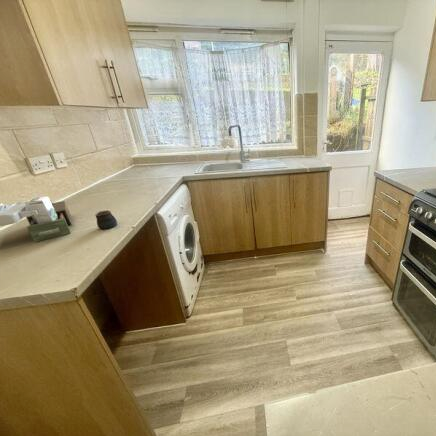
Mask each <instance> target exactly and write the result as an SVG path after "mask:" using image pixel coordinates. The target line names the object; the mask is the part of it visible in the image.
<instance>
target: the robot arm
mask: <svg viewBox="0 0 436 436" xmlns="http://www.w3.org/2000/svg"><path fill="white" fill-rule="evenodd" d="M29 200H30V199H28V200H27V199H26V200H23V201H15V202H11V203H10V204H8V205H7V204H4V203H2V202H0V227H5V226H9V225H13V224H15V223H19V222H20V221H22V220H23V219H25V218H26V217H28V216H31V215H37V214H38V213H39V212H38V210H37V209H35V210H31V211H29V210H28V208H27V207H26V205H25V203H26V202H27V201H29Z"/></svg>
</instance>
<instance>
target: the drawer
mask: <svg viewBox="0 0 436 436" xmlns="http://www.w3.org/2000/svg"><path fill="white" fill-rule="evenodd" d="M56 214H57V216H58V218H59V219H58V220H54V221H49V222H45V223H40V224H35V222H34V220H33V218H32V220H31V224H29V225H27V226H26V228H27V231H28V232H29V234H30V236H31V238H32V240H33V242H34V243H37V242H41V241H45V240H49V239H53V238H56V237H60V236H65V235H69V234H71V229H70V226H68V222H67V220H66V218H65V215H64V213H63V212H59V213H56Z"/></svg>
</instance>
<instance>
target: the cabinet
mask: <svg viewBox="0 0 436 436" xmlns="http://www.w3.org/2000/svg"><path fill="white" fill-rule="evenodd" d="M66 203H67V202H66V201H65V200H62V201H55V202H51V204H52V206H53V208H54V210H55V212H56V213H59V212H63V213H64V215H65V218H66V220H67V222H68V227H71V226H73V222H72V215H71V213H70V210H69V209H68V206H67V204H66ZM25 218H26V220H27V222H28V224H29V225H30V224H31V220H32V216H28V217H25Z"/></svg>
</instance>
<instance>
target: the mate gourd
mask: <svg viewBox="0 0 436 436" xmlns="http://www.w3.org/2000/svg"><path fill="white" fill-rule="evenodd" d="M95 218H96V225H97V227H98V228H99V230H100V231H105V230H110V229H114V228H115V227H117V226H118V220H117V219H116V217H115V216H114V215H113V214H112V212H111V210H102V211H101V210H100V211H98V212H96V213H95Z"/></svg>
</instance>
